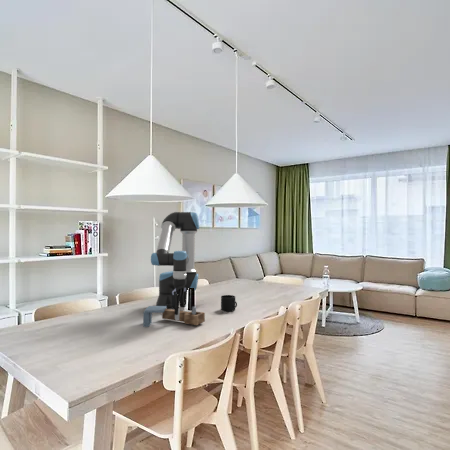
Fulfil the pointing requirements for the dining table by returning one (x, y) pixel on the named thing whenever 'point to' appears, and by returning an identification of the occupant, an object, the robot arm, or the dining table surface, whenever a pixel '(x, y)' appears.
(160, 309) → the keeper
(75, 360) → the dining table surface
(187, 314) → the link
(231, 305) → the mug
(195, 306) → the pintle
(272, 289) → the dining table surface
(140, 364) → the dining table surface
